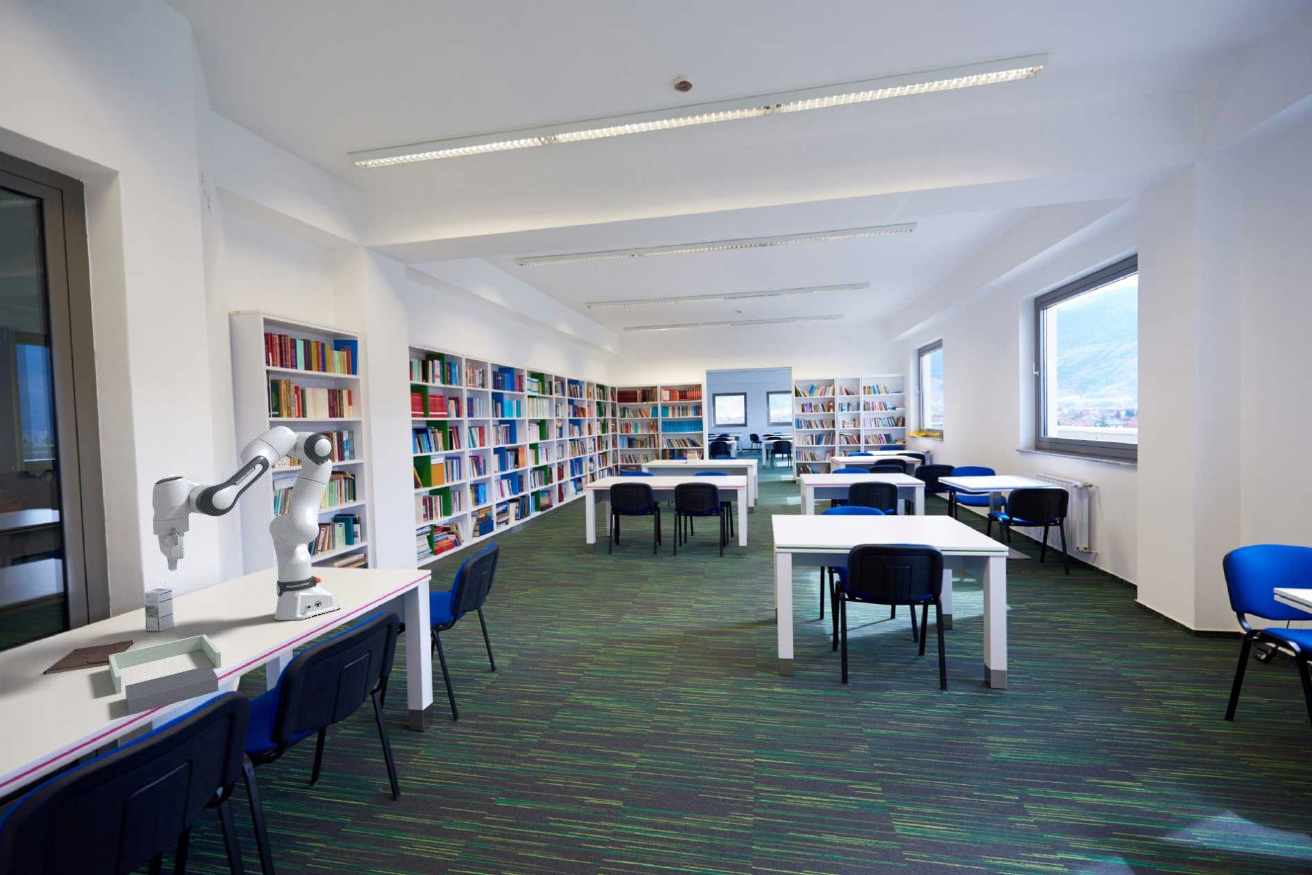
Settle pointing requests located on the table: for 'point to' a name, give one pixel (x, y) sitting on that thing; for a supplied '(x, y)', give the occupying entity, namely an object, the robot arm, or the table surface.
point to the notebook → (88, 657)
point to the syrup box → (159, 609)
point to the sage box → (161, 655)
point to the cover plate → (170, 689)
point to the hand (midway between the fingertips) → (172, 569)
